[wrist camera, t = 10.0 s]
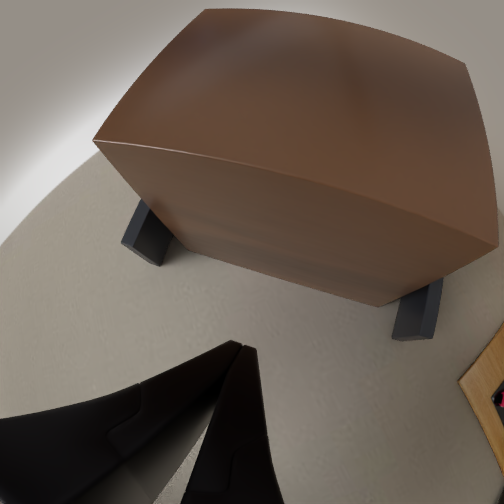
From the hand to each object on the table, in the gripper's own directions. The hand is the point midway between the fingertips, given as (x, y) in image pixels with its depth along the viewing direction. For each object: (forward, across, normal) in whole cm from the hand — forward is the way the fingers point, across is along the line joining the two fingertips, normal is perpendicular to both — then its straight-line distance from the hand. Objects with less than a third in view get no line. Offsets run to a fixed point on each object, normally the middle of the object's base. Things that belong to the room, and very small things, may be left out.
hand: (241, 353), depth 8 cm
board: (+4, +19, -5) cm, 20 cm away
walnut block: (+10, 0, +1) cm, 10 cm away
